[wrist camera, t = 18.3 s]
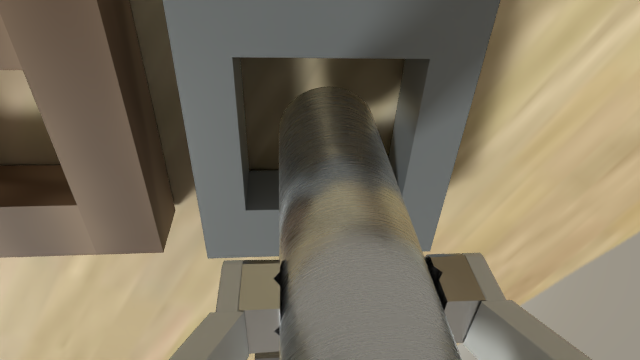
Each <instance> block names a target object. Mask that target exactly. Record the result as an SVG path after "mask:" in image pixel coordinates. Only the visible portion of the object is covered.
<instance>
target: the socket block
mask: <svg viewBox="0 0 640 360" xmlns="http://www.w3.org/2000/svg"><path fill="white" fill-rule="evenodd" d="M0 70H23V72H24V74H25V77H26V79H27V82H28V84H29V87H30V89H31V92H32V94H33V97H34V99H35V102H36V104H37V107H38V109H39V112H40V114H41V117H42V119H43V122H44V124H45V127H46V129H47V132H48V134H49V137H50V139H51V142H52V144H53V147H54V149H55V152H56V154H57V157H58V159H59V162H60V164H61V165H26V166H0V257H33V256H65V255H98V254H130V253H163V252H164V248H165V245H166V241H167V238H168V234H169V231H170V227H171V224H172V220H173V217H174V213H175V207H174V202H173V197H172V193H171V188H170V184H169V179H168V175H167V170H166V166H165V161H164V157H163V152H162V148H161V143H160V138H159V134H158V129H157V125H156V120H155V116H154V111H153V107H152V102H151V98H150V93H149V88H148V84H147V79H146V75H145V70H144V66H143V61H142V57H141V52H140V48H139V43H138V39H137V34H136V29H135V25H134V20H133V16H132V11H131V7H130V2H129V0H0Z"/></svg>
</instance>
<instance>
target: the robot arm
mask: <svg viewBox="0 0 640 360" xmlns="http://www.w3.org/2000/svg"><path fill="white" fill-rule="evenodd" d="M424 258H425V260H426V263H427V266H428V268H429V271H430V274H431V277H432V279H433V282H434V285H435V288H436V290H437V293H438V296H439V299H440V301H441V304H442V307H443V309H444V312H445V315H446V318H447V320H448V323H449V326H450V329H451V331H452V334H453V337H454V340H455V342H456V343H463V345H464V346H465V347H466V348H467V349H468V350H469V351H470V352H471V353H472V354H473V355H474V356H475V357H476V359H477V360H592V359H591V358H589V357H588V356H587V355H585V354H584V353H583V352H581V351H580V350H579V349H577V348H576V347H574V346H573V345H572V344H570V343H569V342H568V341H566V340H565V339H564V338H562V337H561V336H560V335H558V334H557V333H555V332H554V331H553V330H551V329H550V328H549V327H547V326H546V325H545V324H543V323H542V322H540V321H539V320H538V319H537V318H535V317H534V316H533V315H531V314H530V313H528V312H527V311H526V310H524V309H523V308H522V307H520V306H519V305H518V304H516V303H515V302H514V301H512V300H506V298H505V296H504V295H503V293H502V291H501V289H500V287H499V285H498V283H497V281H496V279H495V277H494V276H493V274H492V272H491V270H490V268H489V266H488V264H487V262H486V260H485V258H484V256H483V255H482V254H481V253H462V254H460V253H454V254H431V255H426V256H425V257H424ZM279 326H280V260H232V261H224V262H223V265H222V270H221V277H220V284H219V291H218V299H217V306H216V312H213V313H209V314H208V316H207V317H206V318H205V319H204V320H203V321H202V322H201V323H200V325H199V326H198V327H197V328H196V329H195V330H194V331H193V333H192V334H191V335H190V336H189V337H188V338H187V339H186V341H185V342H184V343H183V344H182V345H181V346H180V347H179V348H178V350H177V351H176V352H175V353H174V354H173V355H172V356H171V358H170V359H169V360H247V358H248V357H249V354H251V353H264V352H276V351H280V328H279Z"/></svg>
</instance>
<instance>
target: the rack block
mask: <svg viewBox="0 0 640 360" xmlns="http://www.w3.org/2000/svg"><path fill="white" fill-rule="evenodd" d="M499 3H500V0H163V5H164V11H165V17H166V22H167V28H168V34H169V40H170V45H171V51H172V57H173V62H174V68H175V74H176V80H177V85H178V91H179V97H180V102H181V108H182V114H183V120H184V125H185V131H186V137H187V142H188V148H189V154H190V160H191V165H192V171H193V177H194V182H195V188H196V194H197V200H198V205H199V211H200V217H201V222H202V228H203V234H204V240H205V245H206V251H207V257H208V258H234V257H265V256H279V170H270V171H249V162H248V149H247V135H246V122H245V109H244V96H243V82H242V69H241V57H258V58H380V59H405V62H404V68H403V74H402V80H401V86H400V92H399V98H398V104H397V110H396V116H395V122H394V128H393V135H392V141H391V147H390V153H389V162H390V165H391V167H392V170H393V173H394V175H395V178H396V181H397V184H398V186H399V189H400V192H401V195H402V197H403V200H404V203H405V206H406V208H407V211H408V214H409V217H410V219H411V222H412V225H413V227H414V230H415V233H416V236H417V238H418V241H419V244H420V247H421V249H422V251H430V249H431V246H432V242H433V239H434V235H435V231H436V228H437V224H438V221H439V217H440V214H441V210H442V207H443V203H444V199H445V196H446V192H447V189H448V185H449V182H450V178H451V174H452V171H453V167H454V164H455V160H456V157H457V153H458V150H459V146H460V142H461V139H462V135H463V132H464V128H465V125H466V121H467V117H468V114H469V110H470V107H471V103H472V100H473V96H474V93H475V89H476V85H477V82H478V78H479V75H480V71H481V68H482V64H483V60H484V57H485V53H486V50H487V46H488V43H489V39H490V36H491V32H492V28H493V25H494V21H495V18H496V14H497V11H498V7H499Z"/></svg>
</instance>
